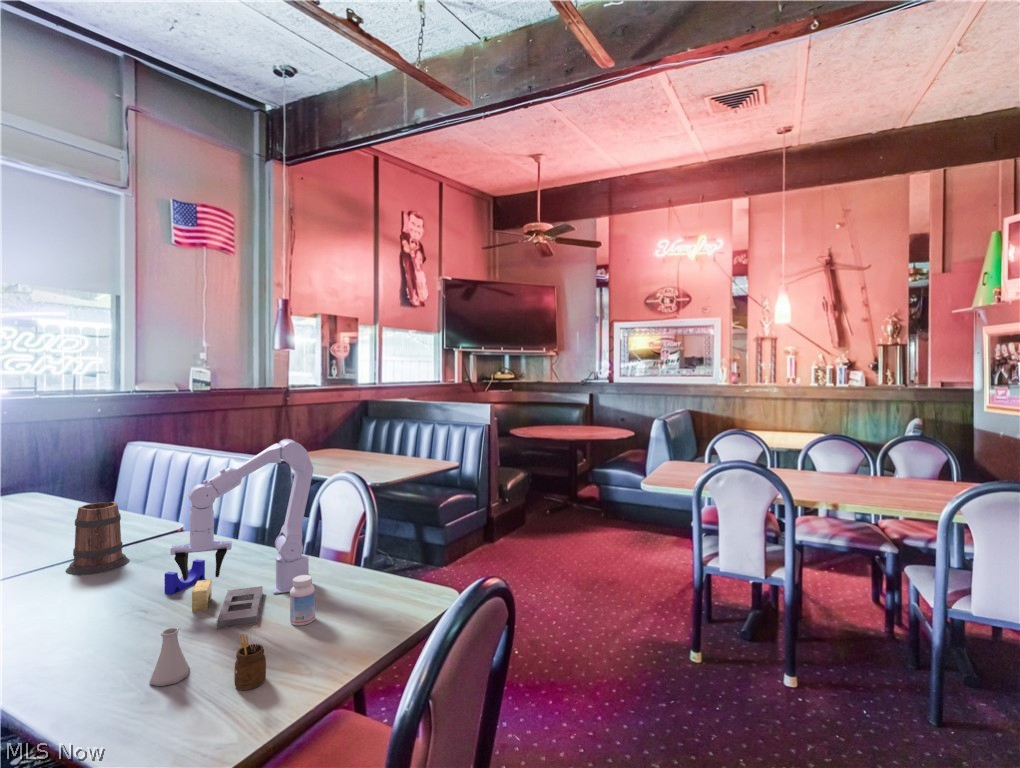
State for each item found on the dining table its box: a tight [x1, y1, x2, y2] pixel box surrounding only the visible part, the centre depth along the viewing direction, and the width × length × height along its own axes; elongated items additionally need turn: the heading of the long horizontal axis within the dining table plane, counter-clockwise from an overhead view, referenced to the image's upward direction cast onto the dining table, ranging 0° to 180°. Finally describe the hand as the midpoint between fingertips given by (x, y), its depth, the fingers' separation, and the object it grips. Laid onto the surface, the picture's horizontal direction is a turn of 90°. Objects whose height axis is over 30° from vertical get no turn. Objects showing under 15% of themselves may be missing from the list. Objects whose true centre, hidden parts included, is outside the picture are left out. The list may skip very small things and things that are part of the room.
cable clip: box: [164, 558, 206, 595], centre depth 161 cm, size 12×4×6 cm, turn 169°
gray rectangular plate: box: [216, 585, 264, 630], centre depth 145 cm, size 9×20×2 cm, turn 21°
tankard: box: [65, 501, 131, 576], centre depth 178 cm, size 24×17×20 cm
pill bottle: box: [289, 575, 316, 626], centre depth 139 cm, size 6×6×11 cm
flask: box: [148, 626, 191, 687], centre depth 113 cm, size 7×7×10 cm
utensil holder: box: [233, 625, 267, 691], centre depth 111 cm, size 6×6×12 cm
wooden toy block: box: [191, 578, 213, 613], centre depth 148 cm, size 4×8×6 cm, turn 21°
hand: (201, 577), depth 148 cm, fingers open, 7 cm apart
